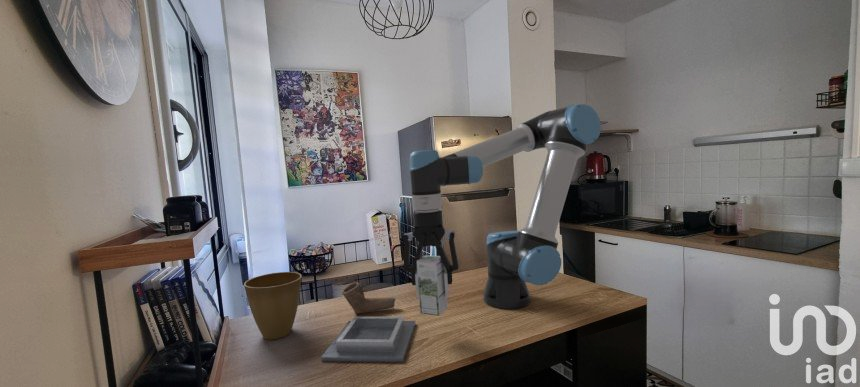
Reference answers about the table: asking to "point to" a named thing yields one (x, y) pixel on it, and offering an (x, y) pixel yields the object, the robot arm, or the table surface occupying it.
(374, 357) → the duct plate
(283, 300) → the plant pot
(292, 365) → the table surface
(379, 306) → the pipe
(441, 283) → the syrup box
